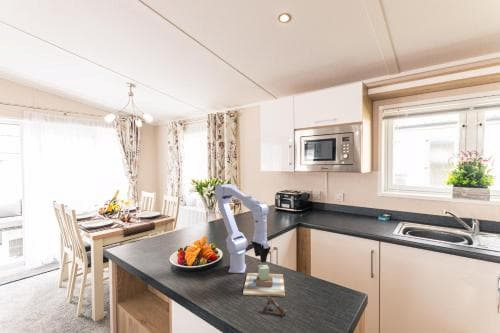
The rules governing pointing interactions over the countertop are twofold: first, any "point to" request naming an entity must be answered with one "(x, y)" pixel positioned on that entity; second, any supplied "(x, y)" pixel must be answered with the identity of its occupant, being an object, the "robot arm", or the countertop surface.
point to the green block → (263, 272)
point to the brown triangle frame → (275, 306)
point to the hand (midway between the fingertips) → (260, 258)
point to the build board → (264, 292)
